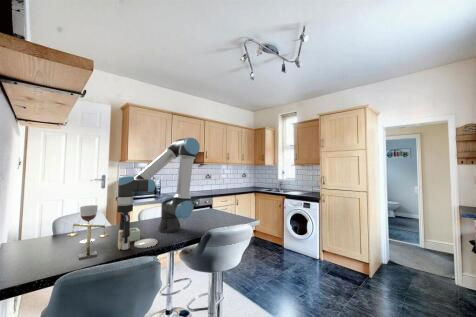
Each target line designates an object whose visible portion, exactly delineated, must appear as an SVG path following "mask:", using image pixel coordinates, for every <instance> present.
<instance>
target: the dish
mask: <svg viewBox="0 0 476 317" xmlns="http://www.w3.org/2000/svg"><path fill="white" fill-rule="evenodd" d="M158 241H159V240H157V239H156V238H144V239H143V238H142V239H140V240H137V241H134V247H135V248H137V249H146V248H147V247H148V248H151V246H152V247H155V246H157V245H158ZM156 244H157V245H156Z"/></svg>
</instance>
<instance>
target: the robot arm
mask: <svg viewBox="0 0 476 317" xmlns="http://www.w3.org/2000/svg"><path fill="white" fill-rule="evenodd" d="M200 150H201V145H200V142H199V141H198V140H197V139H196V138H195V137H185V138H180V139H176V140H175V141H173V142H172V143H170V145H169V146H167V147H166V148H165V149H164V152H162V153H161V154H160V155H159V156H158V157H157V158H155V159H154V160H153V161H152V162H151V163H149V164H148V165H147V166H146V167H145V168H144V169H143V170H141V171H140V172H139V173H138V174H136V175H135V176H133V175H122V176H119V178H118V182H117V188H118V189H117V198H116V201H117V206H116V208H117V210H116V211H117V213H119V228H118V230H123V236H122V238H123V243H122V249H121V250H122V251H123V250H128V249H129V248H128V241H129V236H130V228H131V227H130V226H131V222H130V221H131V217H130V214H129V213H130V212H133V210H134V206H133V204H134V194H136V193H151V192H152V193H153V192H154V191H155V189H156V182H155V180H154V179H152V178H154V176H156V175H157V174H158V173H159V172H160V171H161V170H162V169H164V167H166V166H167V165H168V164H169V163H170V162H172V161H173V160H176V159H177V158H179V166H178V175H177V183H176V184H177V185H176V190H175V194H174V195H173V196H166V197H162V199H161V212H160V214H161V215H160V221H159V224H158V227H157V231H158V232H159V233H164V234H165V233H166V234H167V233H174V232H175V233H177V232H178V231H181V226H182V224H181V223H180V220H179V219H186V218H189V217H190V216H191V215H192V213H193V212H194V204H193V203H192V197H191V196H190V191H191V182H192V172H193V162H194V160H195V159H196V156H197V154H198V153H199V152H200Z"/></svg>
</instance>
